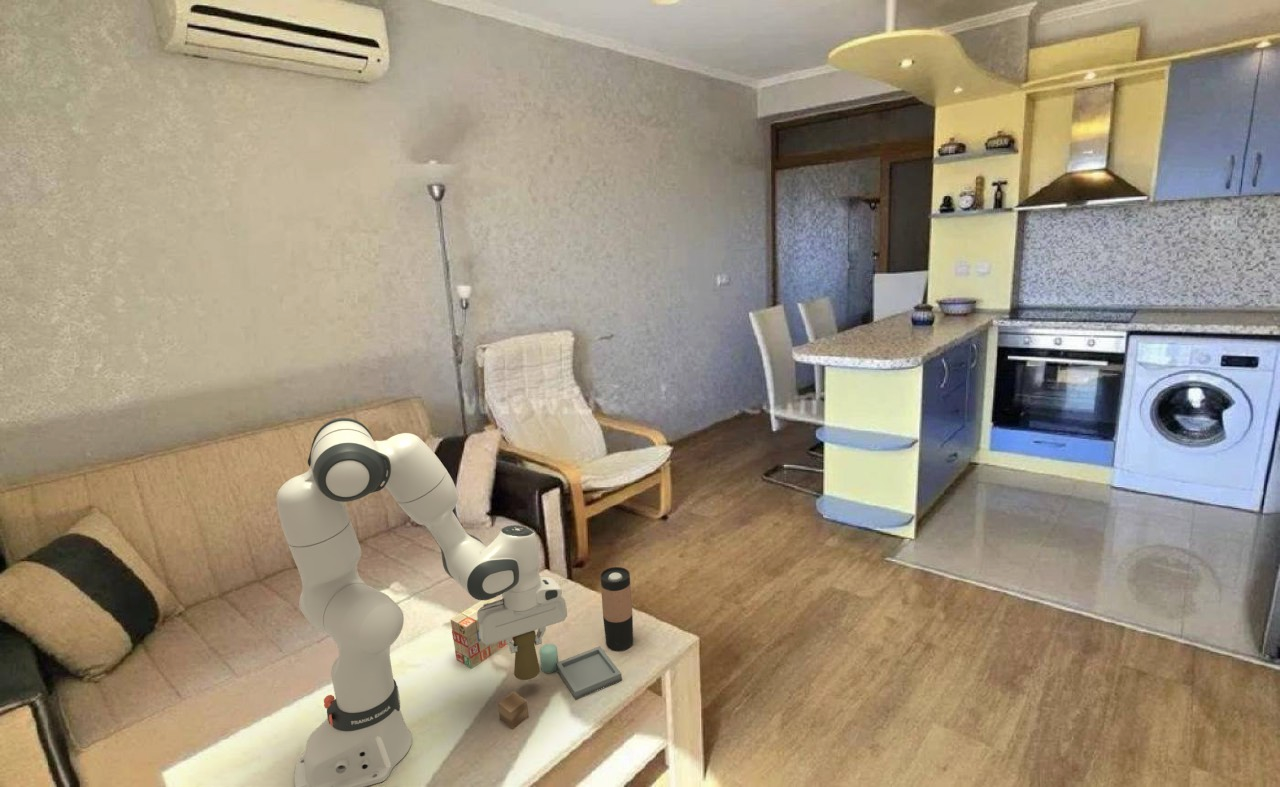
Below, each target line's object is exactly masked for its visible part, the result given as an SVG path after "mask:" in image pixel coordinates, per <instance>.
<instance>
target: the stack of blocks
mask: <svg viewBox="0 0 1280 787" xmlns="http://www.w3.org/2000/svg"><path fill="white" fill-rule="evenodd" d="M500 599H502V597H500ZM497 600H498V599H496V598H492V599H489V600H479V601H478V602H477V603H475V604H472V606H470V607H468V608H467V609H465V610H463V611H462V612H461V613H458V614H456V615H455V616H453V617H452V618H450V624H451V635H452V640H453V645H454V652H455V658H456V661H458V662H459V663H461V664H463V665H465V666H466V667H468V668H469V669H473V668H475V667H476V666H477V664H478V665H479V664H481V663H482V662H484V661H485V660H487V659H488V658H490V657H491V656H492V655H494V654H495V653H497V652H498V651H500V650H501V649H502V648H503V647H504V646H506V645H508V644H507V643H506V641H505V640H502V641H499V642H496V643H493V644H490V645H485V644H484V643H483V642H482V641H481V639H480V635H479V622H478V618H477V612H478V610H479V609H480V608H481V607H483V605H484V604H487V603H492V602H494V601H497ZM483 609H484V608H483ZM512 641H513V637H512Z"/></svg>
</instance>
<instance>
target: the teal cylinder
mask: <svg viewBox="0 0 1280 787" xmlns="http://www.w3.org/2000/svg"><path fill="white" fill-rule="evenodd" d="M539 661H540V671H542V672H543V673H547V674H551V673H553V672H556V671H557V668H556V663H557V662H559V653H558V646H557V645H556V644H553V643H547V644H544V645H542V646H541V647H540V648H539Z"/></svg>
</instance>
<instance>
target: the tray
mask: <svg viewBox="0 0 1280 787" xmlns="http://www.w3.org/2000/svg"><path fill="white" fill-rule="evenodd" d="M556 668H557V670H556V671H557V673H558V675H560V678H561V679H562V681H563V682H564V684H565V686H566V687H567V688H568V690H569V692H570V693H571V695H572V696H573V698H574V699H575V700H579V699H581V698H583V697H585V695H586V696H588V695H590V694H592V693H595V692H598V691H600V690H602V689H604V688H603V687H605V688H607V687H610V686H612V685H614V684H616V682H617V683H619V682H622V681H623V679H622V672H621V671H620V669H619V668H618V667H617V666H616V664H615V663H614V662H613V661H612V659H611V658H610V657H609V656H608V654H607V653H606V652H605V650H604V649H603V648H602V646H601V645H600V646H599V645H598V646H596V647H593V648H591V649H589V650H586V651H584V652H580V653H578V654H575V655H573V656H570V657H568V658H565V659H562V660H560V661H558V662H557V663H556ZM621 680H622V681H621ZM613 683H614V684H613ZM611 684H612V685H611ZM609 685H610V686H609ZM606 686H607V687H606ZM601 688H602V689H601ZM599 689H600V690H599ZM597 690H598V691H597Z"/></svg>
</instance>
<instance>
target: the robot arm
mask: <svg viewBox="0 0 1280 787" xmlns="http://www.w3.org/2000/svg"><path fill="white" fill-rule="evenodd" d="M307 465H308V466H309V468H308V470H307V471H305V472H304V473H302V474H300V475H295V476H294V477H292V478H290V479H288V480H287V481H286V482H285V483H283V484H282V486H281V487H280V488H278V491H277V494H276V498H275V499H276V505H277V512H278V518H279V522H280V527H281V529H282V532H283V535H284V538H285V541H286V543H287V545H288V549H289V551H290V553H291V555H292V558H293V560H294V563H295V565H296V568H297V570H298V574H299V575H300V576H299V577H300V580H301V586H302V587H301V588H302V591H301V592H300V595H299V600H298V602H299V604H298V605H299V609H300V611H301V613H302V614H303V616H304V617H305V619H306V620H308V622H309V623H310V625H311V626H313V627H314V628H316V629H317V630H319V631H321V632H322V633H325V634H326V635H328V636H329V637H331V638H332V639H333V641H334V642H335V644H336V646H337V649H338V655H337V656H338V657H337V658H336V659H335V660H334V661H333V663H332V665H331V668H330V675H331V676H330V677H331V681H332V685H333V692H334V695H332V694H327V695H326V696H325V697H324V699H323V703H324V704H323V706H324V709H326V716H327V718H326V719H325V720H324V721H323V722H322V723H321V724H320V725H319V726H318V727H317V728H315V730H313V731H312V733H310V735H309V736H308V739H307V742H306V744H305V750H304V751H303V753H302V754H301V755H300V756H299V758H298V760H297V762H296V765H295V769H294V787H367V786H368V787H369V786H372V785H376V784H379V783H382V782H384V781H385V780H387V779H388V778H389V776H390V774H391V773H392V771H393V769H394V768H395V767H396V765H397V764H398V763H400V762H401V760H403V758H404V757H406V755H407V754H408V752H409V750H410V748H411V746H412V742H413V735H412V732H411V730H410V728H409V727H408V725H407V723H406V721H405V720H404V719H405V718H404V717H403V716H404V715H403V714H402V711H401V697H400V692H399V686H398V685H397V682H396V679H394V673H393V668H392V662H391V647H392V645H393V644H394V643H395V642H396V641H397V639H398V638H399V636H400V634H401V632H402V630H403V627H404V623H405V621H404V620H405V619H404V618H405V617H404V612H403V609H402V608H401V607H400V606H399V605H398V604H397V602H395V601H394V600H393V599H392V598H391V597H390V596H389V595H388V594H386V593H385V592H382V591H380V590H378V589H376V588H374V587H371V586H370V585H368V584H366V582H365V581H364V580H363V579H362V578H361V577H360V575H359V572H358V563H359V561H360V560H361V557H362V547H361V545H360V543H359V540H358V536H357V534H356V532H355V529H354V526H353V523H352V520H351V518H350V515H349V512H348V510H347V507H346V504H345V503H347V502H353V501H357V500H359V499H362V498H365V497H366V496H368V495H370V494H372V493H375V492H379V491H381V490H383V489H384V488H386V489H387V490H388V492H389V493H390V495H391V496H392V498H393V499H394V500H395V502H396V503H397V504H398V505H399V507H400V508H401V509H402V511H404V513H405V514H406V515H407V516H409V518H410V519H412V521H414V522H415V523H416V524H418V525H421V526H425V527H426V529H427V530H428V533H430V535H431V537H432V538H433V539H434V541H435V542H436V544H437V545H438V546H439V550H440V553H441V554H440V555H441V560H442V561H441V562H442V567H443V568H444V571H445V572H446V574H447V575H448V576H449V577H450V578H452V579H454V580H455V581H456V582H457V583H458V584H459V585H460V586H461V587H462V588H463V590H465V591H466V593H468V595H470V596H471V598H473V599H474V600H478V601H481V600H489V599H492V598H493V599H495V598H497V597H498V596H501V595H502V596H501V598H502V599H501V598H500V599H496V600H497V601H494V602H492V603H487V604H484V605H483V607H481V608H480V609H479V610H478V612H477V618H478V622H479V635H480V639H481V641H482V642H483V643H484V644H485V645H490V644H493V643H496V642H499V641H502V640H505V641H506V643H507V644H506V645H508V646H509V647H508V648H509V651H510V654H515V652H518V649H517V648H518V646H517V645H515V643H514V641H513V640H512V637H515V636H518V635H521V634H524V633H528V632H531V631H536V630H537V631H536V633H535V634H536V638H535V641H534V645H535V646H538V645H541V644H542V643H543V640H542V638H543V636H544V634H545V632H546V631H547V630H546V628H547V627H549V626H552V625H555V624H559V623H561V622H564V621H565V620H566V618H567V617H568V611H567V610H568V609H567V605H566V603H567V602H566V600H565V597H563V595H562V594H563V589H562V587H561V586H560V584H558V582H557V581H556V579H554V578H552V577H548V576H540V575H541V574H540V572H539V567H540V553H539V545H538V541H537V537H536V535H535V532H533V530H532V529H530V528H528V527H526V526H522V525H515V524H514V525H512V524H511V525H507V526H504V527H503V528H501V529H500V531H499V533H498V535H497V536H496V537H495V539H493V540H492V541H491V543H489V544H488V545H487V546H486V544H484V542H482V541H481V539H480V538H478V537H476V536H475V535H472V534H470V533H468V532H467V531H466V530H465V528H464V527H463V526H462V524H461V522H460V521H459V519H458V517H457V516H456V514H455V512H454V509H455V507H456V505H457V503H458V500H459V493H458V490H457V488H456V485H455V483H454V480H453V478H452V477H451V475H450V473H449V472H448V470H447V468H446V467H445V466H444V464H443V463H442V462H441V459H439V457H438V456H437V454H435V452H434V451H433V450H432V449H431V447H430V446H428V444H426V443H425V442H424V441H423V440H422V438H420V437H419V436H418V435H416V434H413V433H410V432H402V433H398V434H395V435H393V436H390V437H388V438H387V439H384V440H374V439H373V435H372V433H371V431H370V430H369V429H368V428H367V426H366V425H365V424H363V423H361V422H360V421H358V420H356V419H353V418H350V417H349V418H348V417H338V418H337V417H336V418H334V419H330V420H329V421H327V422H325V423H324V424H323V425H322V426H320V428H319V429H318V430H317V432H316V434H315V435H314V437H313V440H312V443H311V447H310V451H309V455H308V459H307ZM483 608H484V609H483Z"/></svg>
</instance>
